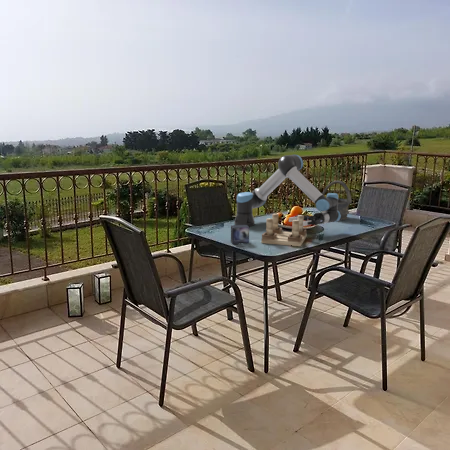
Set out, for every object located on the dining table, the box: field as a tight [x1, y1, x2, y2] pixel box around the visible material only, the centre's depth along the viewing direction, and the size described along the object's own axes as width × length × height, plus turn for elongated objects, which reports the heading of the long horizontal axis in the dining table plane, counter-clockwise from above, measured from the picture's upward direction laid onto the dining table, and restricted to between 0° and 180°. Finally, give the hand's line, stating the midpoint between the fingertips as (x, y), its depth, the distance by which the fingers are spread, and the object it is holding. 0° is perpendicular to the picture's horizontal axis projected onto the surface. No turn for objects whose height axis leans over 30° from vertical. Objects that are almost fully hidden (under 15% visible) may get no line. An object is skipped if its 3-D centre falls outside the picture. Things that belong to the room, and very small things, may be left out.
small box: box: [230, 225, 250, 245], centre depth 247 cm, size 11×6×10 cm, turn 101°
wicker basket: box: [321, 180, 352, 221], centre depth 316 cm, size 22×23×30 cm
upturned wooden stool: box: [261, 213, 308, 247], centre depth 252 cm, size 24×24×14 cm
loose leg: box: [297, 214, 305, 232], centre depth 257 cm, size 4×4×12 cm
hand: (295, 221), depth 255 cm, fingers open, 13 cm apart
